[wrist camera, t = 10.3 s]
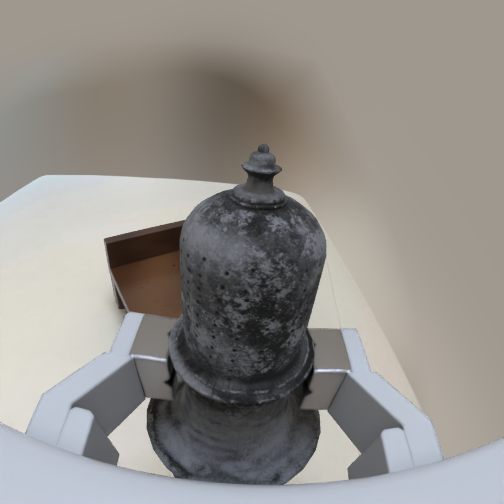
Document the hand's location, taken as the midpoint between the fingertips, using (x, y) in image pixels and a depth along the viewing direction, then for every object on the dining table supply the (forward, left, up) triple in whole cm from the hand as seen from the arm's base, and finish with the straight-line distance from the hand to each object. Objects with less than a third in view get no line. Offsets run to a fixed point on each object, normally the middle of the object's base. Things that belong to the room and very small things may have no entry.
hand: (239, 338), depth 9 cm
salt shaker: (+1, +1, -7) cm, 7 cm away
